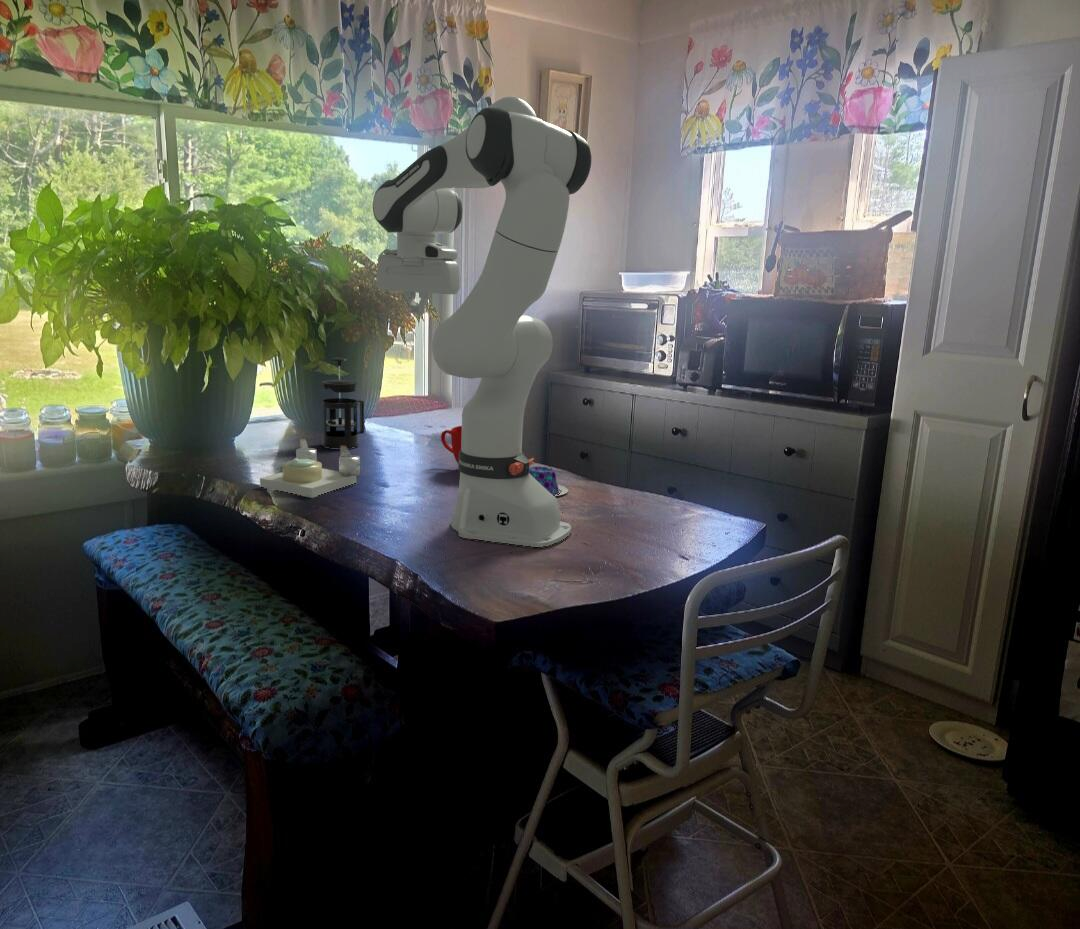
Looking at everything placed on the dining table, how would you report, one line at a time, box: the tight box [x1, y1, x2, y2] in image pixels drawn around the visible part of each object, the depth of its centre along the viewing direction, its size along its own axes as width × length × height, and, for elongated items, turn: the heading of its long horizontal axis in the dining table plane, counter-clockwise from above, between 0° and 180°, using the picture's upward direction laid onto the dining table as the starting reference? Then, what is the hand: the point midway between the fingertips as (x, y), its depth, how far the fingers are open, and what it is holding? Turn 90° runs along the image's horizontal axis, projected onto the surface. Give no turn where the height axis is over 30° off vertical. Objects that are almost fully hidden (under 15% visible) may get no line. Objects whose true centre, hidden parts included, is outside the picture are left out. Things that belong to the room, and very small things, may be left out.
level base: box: [259, 457, 357, 499], centre depth 172 cm, size 14×14×6 cm
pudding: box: [529, 466, 569, 497], centre depth 176 cm, size 12×12×5 cm
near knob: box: [338, 446, 361, 476], centre depth 180 cm, size 15×4×4 cm, turn 20°
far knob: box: [295, 438, 318, 461], centre depth 185 cm, size 15×4×4 cm, turn 20°
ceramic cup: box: [440, 425, 462, 464], centre depth 191 cm, size 13×17×10 cm
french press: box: [321, 357, 365, 448], centre depth 210 cm, size 12×9×23 cm
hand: (417, 313), depth 182 cm, fingers closed
